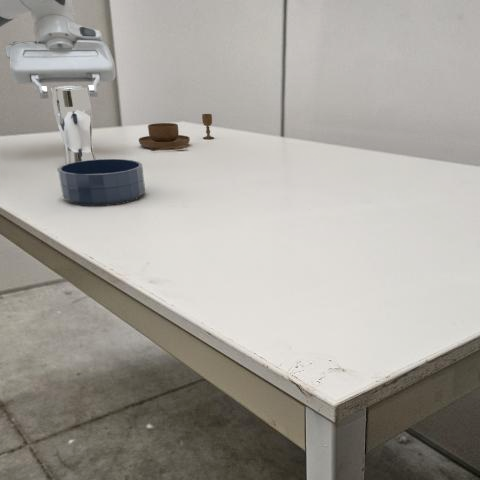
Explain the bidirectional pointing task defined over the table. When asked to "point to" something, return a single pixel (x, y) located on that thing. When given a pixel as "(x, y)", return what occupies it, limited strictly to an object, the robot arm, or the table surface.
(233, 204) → the table surface
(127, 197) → the bowl
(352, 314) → the table surface
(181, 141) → the place setting
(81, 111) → the beer glass
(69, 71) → the robot arm
